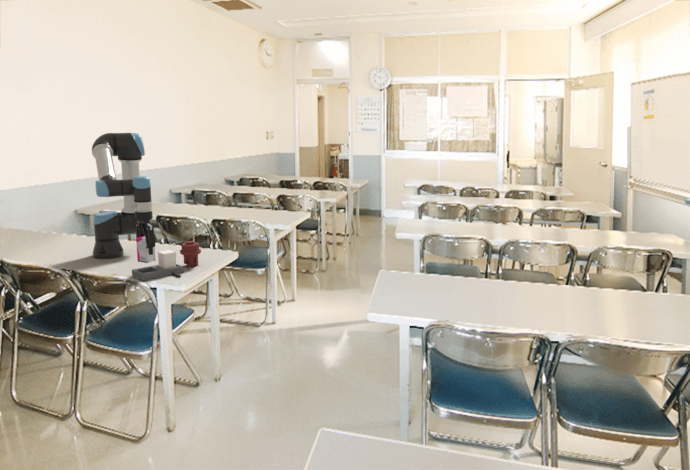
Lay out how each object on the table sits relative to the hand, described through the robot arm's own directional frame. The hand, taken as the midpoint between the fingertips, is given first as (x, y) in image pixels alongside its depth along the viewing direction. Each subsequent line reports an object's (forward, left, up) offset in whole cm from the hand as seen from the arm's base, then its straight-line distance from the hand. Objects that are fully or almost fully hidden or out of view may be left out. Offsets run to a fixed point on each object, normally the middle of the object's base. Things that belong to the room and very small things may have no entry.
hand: (146, 259), depth 245 cm
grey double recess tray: (+3, +5, -8) cm, 10 cm away
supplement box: (0, 0, -1) cm, 1 cm away
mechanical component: (-3, +24, -8) cm, 26 cm away
